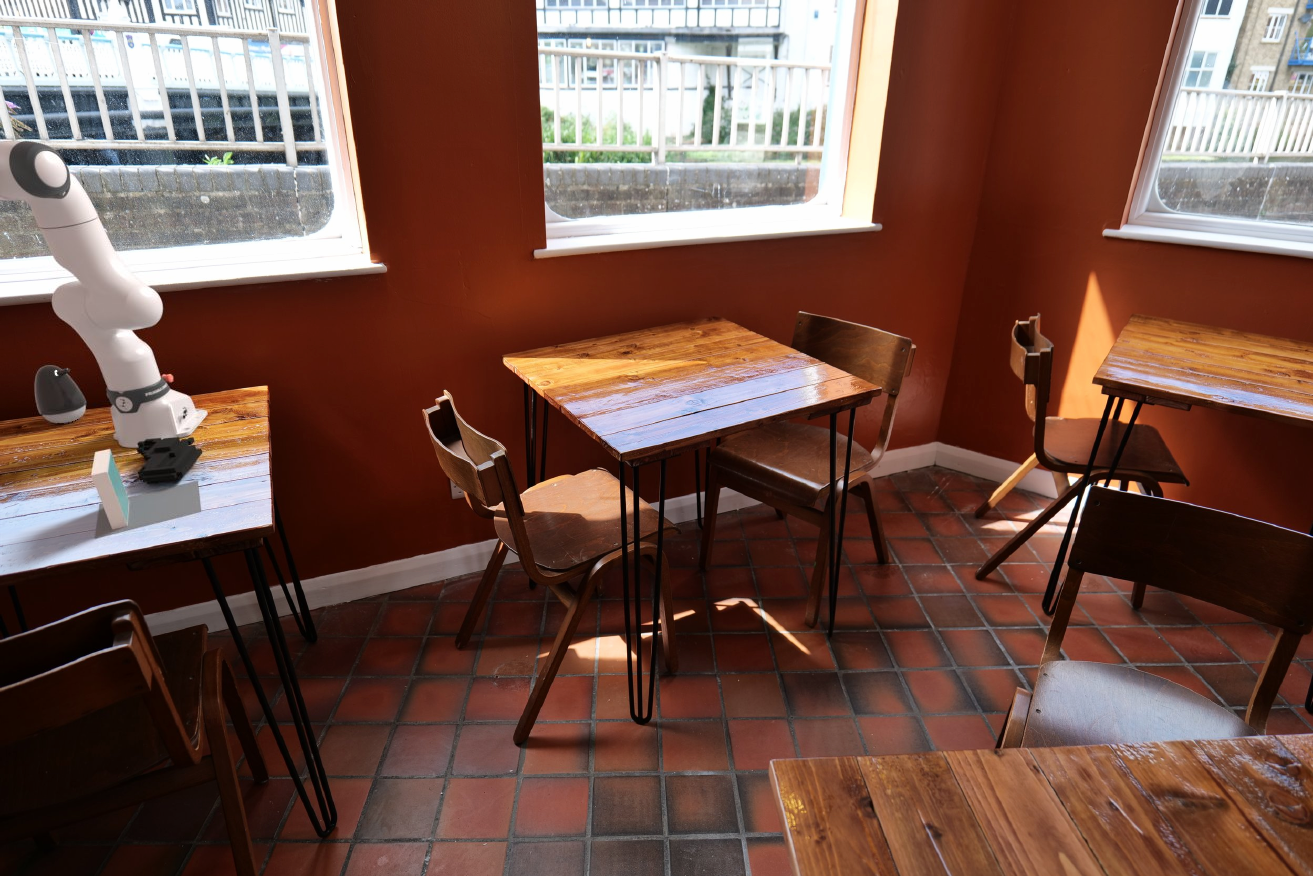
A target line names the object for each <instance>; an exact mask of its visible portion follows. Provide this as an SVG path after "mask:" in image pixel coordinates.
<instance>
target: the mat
mask: <svg viewBox="0 0 1313 876" xmlns="http://www.w3.org/2000/svg"><path fill="white" fill-rule="evenodd" d="M128 498H129V513H128V526H125V527H121V528H117V529H113V530H112V527H111V525H110V522H109V520H108V517H107V514H106V512H105V509H104V507H103V504H102V502H100V503H99V507H98V514H97V520H96V521H97V522H96V529H95V534H94V539H95V540H96V539H100V538H105V537H108V536H111V535H115V534H118V533H119V534H120V533H122V532H127V531H131V530H134V529H139V528H143V527H147V526H150V525H151V526H152V525H155V524H159V523H162V522H166V521H171V520H175V519H178V518H183V517H186V516H190V515H193V514H198V513H202V506H201V504H202V503H201V496H200V486H199V480H195V481H190V482H187V483H181V484H178V485H174V486H170V487H166V488H161V489H157V490H153V491H148V492H144V493H140V494H136V495H131V496H128Z"/></svg>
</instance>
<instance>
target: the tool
mask: <svg viewBox="0 0 1313 876" xmlns="http://www.w3.org/2000/svg"><path fill="white" fill-rule="evenodd" d="M195 441H196V440H195V438H194V436H193V437H192V436H191V437H188V438H182V439H180V438H179V437H173V438H164V439H161V438H153V439H146V440H145V441H139V442H138V443H137V444H138V447H137V448H136V452H137V454H139V455H141V457H143V458H144V461H145V463H144V464H142V466H141V468H140V469H139V470H138V471H137V475H138V479H139V481H142V482H143V483H146V485H152V484H153V485H154V484H164V483H173V482H180V480H182V478H183V477H184V476H185V475H186V473H188V471H190V469H191V467H192V466H193V465H195V463H196V462H197V460H199V458H200V457H201V455H202V454H203V449H202V448H196V444H194V443H195Z"/></svg>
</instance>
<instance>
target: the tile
mask: <svg viewBox="0 0 1313 876" xmlns="http://www.w3.org/2000/svg"><path fill="white" fill-rule="evenodd" d="M90 477H91V478H92V481H93V484H94V486H95V489H96V491H97V494H98V496H99V500H100V501H101V502H100V503H102V504H103V507H104V509H105V512H106V514H107V517H108V520H109V522H110V525H111V527H112V530H113V529H117V528H121V527H125V526H128V513H129V498H128V497H129V496H128V494H127V491H126V487H125V485H124V483H123V480H122V478H121V474H120V472H119V469H118V467H117V464H116V462H115V459H114V456H113V453H112V451H111V448H108V449H105V450H99V451H95V452H94V457H93V463H92V469H91V474H90Z"/></svg>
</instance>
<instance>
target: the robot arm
mask: <svg viewBox="0 0 1313 876" xmlns="http://www.w3.org/2000/svg"><path fill="white" fill-rule="evenodd" d="M69 169H70V168H69V167H68V165H67V162H66V161H65V160H64V158H63V157H62V156H61V155H60V153H59V152H58V151H56V150H55V149H54V148H53V147H51V146H49V145H48V144H45V143H41V142H36V141H31V140H30V141H29V140H25V141H12V140H10V141H9V140H0V201H11V202H12V201H15V202H16V201H22V200H23V201H24V202H26V203H27V204H28V205H29V207H30V209H31V212H32V215H33V217H34V219H35V222H36V224H37V226H38V228H39V231H40V232H41V234H42V236H43V239H44V240H45V243H46V245H47V247H48V248H49V250H50V253H51V255H52V257H53V259H54V260H55V262H56V263H57V264H58V265H59V266H61V267H62V268H63V269H65V270H67V271H68V272H69V273H71V274H72V275H73V276H74V277H75V278H76V279H77V280H75V281H70V282H69V281H68V282H66V283H63V284H61V285H59V286H58V287H56V289H55V290H54V291H53V293H52V297H51V305H52V309H53V311H54V313H55V314H56V316H57V317H58V318H59V319H61V321H64V322H65V323H66V324H68V325H69V326H71V328H72V329H73V330H75V332H76V333H77V334H78V335H79V336H80V338H81V339H82V340H83V342H84V343H85V344H86V346H87V347H88V348H89V349H90V351H91V352H92V354H93V356H94V357H95V359H96V362H97V364H98V366H99V369H100V372H101V373H102V377H103V379H104V381H105V384H106V386H107V387H106V389H105V390H106V396H107V398H108V399H109V402H110V404H111V406H110V414H111V419H112V422H113V426H114V430H115V432H114V433H113V434H112V435H113V439H114V440H116V441H118V444H119V446H121V447H125V448H129V449H130V448H134V449H135V448H136V449H138V448H139V447H138V444H137V443H138V442H139V441H145V440H146V439H153V438H161V439H164V438H173V437H179V439H180V438H184V437H188V436H190V435H192V434H193V432H194V431H195V430H196V429H197V427H199V425H200V424H201V423H202V422H203V421H204V419H205V418H206V417H207V416H208V411H207V409H206V410H205V409H201V408H196V407H195V404H194V402H193V400H192V398H191V396H190V395H187V394H185V393H182V392H179V391H176V390H174V389H171V388H170V386H169V385H168V383H172V382H174V376H173V375H172V374H171V373H169V374H162V375H161V373H160V370H159V368H158V365H157V362H156V359H155V355H154V352H153V350H152V348H151V347H150V346H149V345H148V344H147V343H146V342H145V341H143V340H142V339H141V338H139V337H138V336H137V334H135V332H134V331H136V330H141V329H145V328H151V327H153V326H155V325H157V323H158V322H159V321H160V320H161V318H162V316H163V312H164V311H163V310H164V307H163V306H164V305H163V301H162V299H161V297H160V295H159V293H158V292H157V291H156V290H155V289H153V288H152V287H150V286H148V285H147V284H145V283H144V282H143V281H141V280H140V279H139V278H138V277H137V276H136V274H134V273H133V271H131V269H130V268H129V267H128V266H127V265H126V263H124V260H123V259H121V257H120V256H119V254H118V253H117V252H116V250H115V248H114V247H113V245H112V243H111V241H110V239H109V236H108V234H107V232H106V230H105V228H104V225H103V223H102V221H101V219H100V216H99V214H98V212H97V210H96V208H95V207H94V205H93V203H92V201H91V199H90V197H89V196H88V193H87V191H85V189H84V187H83V186H82V184H81V183H80V181H79V180H78V179H77V177H76V176H75V175H74V174H73V173H72V172H70V170H69Z"/></svg>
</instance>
